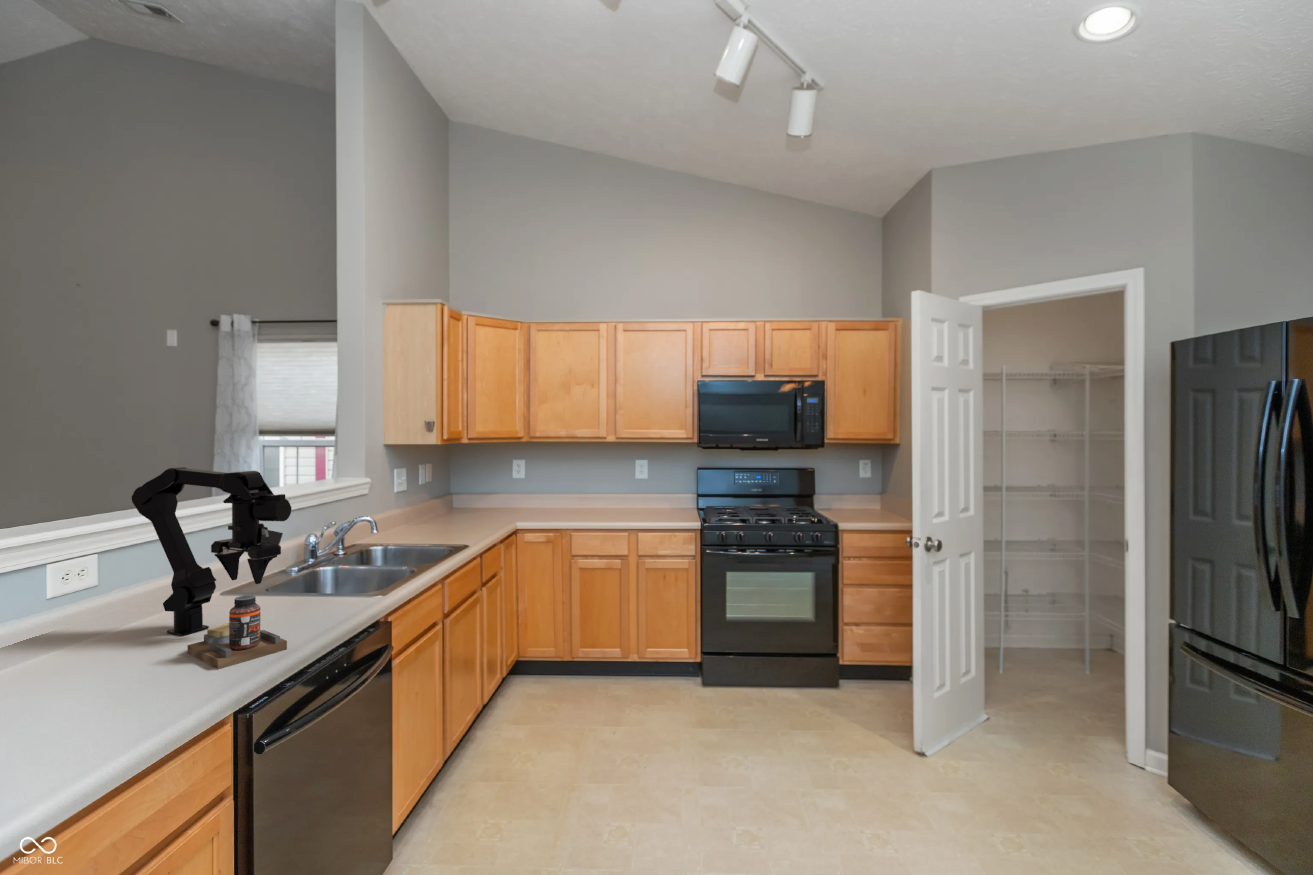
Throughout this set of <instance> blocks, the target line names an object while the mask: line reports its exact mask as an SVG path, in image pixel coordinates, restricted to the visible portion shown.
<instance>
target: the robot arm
mask: <svg viewBox="0 0 1313 875" xmlns="http://www.w3.org/2000/svg"><path fill="white" fill-rule="evenodd" d="M185 485H186V486H187V485H188V486H189V485H190V486H196V487H198V486H199V487H206V488H215V489H218V490H220V491H222V492H224V493H226V494H229V496H227V497H226V498H225V499H224V500H223V501H222V502H223V504H231V525H227V530H228V531H231V538H227V539H220V540H214V542H213V543H212V544H211V545H210V552H211V553H212V554H214V557H216V558H217V559H218V562H220V564H221V565H222V567H223V569H224V570H225V571H226V573H227V575H228V576H229V578H230V579H231V581H237V579H238V575H239V567H240V558H241V557H242V556H243V554H244V553H247V556H248V557H249V558H247V563H248V565H249V569H250V574H251V576H252V578H253V582H254V583H255V585H259V584H261V583H262V580H263V579H264V575H265V573H266V570H267V567H268V566H269V564H270V562H271V561H272V560H273V559H275V558H277V557H278V555H281V554H282V546H281V540H282V537H283V534H284V533H283V532H280V531H275V530H270V529H269V528H268V527H267V526H265V524H264V523H260V521H261V522H285V521H287V520H289V518H290V516H291V513H292V505H291V503H290V501H289V500H288V499H287V498H286V494H285V493H282V494H274V492H273V491H272V489H271V488H270V487H269V485H268V484H267V483H266V481H265V480H264V477H263V476H262V474H261V472H259V471H257V470H247V471H246V470H244V471H234V472H233V471H232V472H223V471H215V470H214V471H212V470H205V469H196V468H188V467H184V466H183V467H182V466H181V467H169V468H167V469H165V470H164V471H163V472H162V473H160V475H156V477H154V478H152V479H150V480H148V481H147V482H145V483H143V484H142V485H141V486H139V487H137V488H136V489H135V490H134V491H133V493H132V495H131V501H132V504H133V506H134V507H135V509H136V511H137V512H138V513H139V514H140V515H142V516H143V517H145V518H146V519H147V520H148V521H150V523H151V524H152V526H153V528H154V531H155V533H156V535H157V537H158V539H159V542H160V544H161V547H162V549H163V551H164V553H165V555H166V559H167V561H168V562H169V565H170V567H171V569H172V572H173V575H172V580H171V583H170V584H171V591H172V593H171V594H170V595H169V596H168V597H167V599H165V601H163V603H162V606H163V609H164V611H165V612H173V628H172V629H166V633H168V634H172V635H176V636H186V635H189V634H192V633H196V632H200V631H204V630H207V629H210V626H209V625H206V624H203V623H204V621H203V620H204V619H203V618H204V616H203V604H207V603H210V602H211V599H212V598H213V597H212V596H213V594H214V593H215V590H216V588H217V586H216V582H217V578H215V576H214V574H213V571H212V569H211V567H209V566H206V567H202V566H200V565H199V564H198V563H197V561H196V559H195V556H194V553H193V552H192V549H191V546H190V545H189V543H188V542H189V541H188V540H187V538H186V536H185V533H184V531H183V529H182V527H181V523H180V522H179V520H178V517H177V515H176V511H177V508H178V507H177V506H178V504H179V502H178V498H177V496H178V495H179V494H181V493H182V492H183V491H184V488H185Z"/></svg>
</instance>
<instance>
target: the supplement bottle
mask: <svg viewBox="0 0 1313 875" xmlns="http://www.w3.org/2000/svg"><path fill="white" fill-rule="evenodd" d="M233 605H234V606H232V608H230V610H229V612H228V614H229V615H228V616H229V618H228V619H229V621H228V623H229V647H230V649H233V650H243V649H249V648H252V647H255V646H257V645H258V644H259V643H260V630H261V606H260V605H259V604H257V600H256V595H254V594H249V595H241V596H240V595H239V596H236V597H235V598H234V602H233Z"/></svg>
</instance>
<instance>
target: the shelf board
mask: <svg viewBox="0 0 1313 875" xmlns="http://www.w3.org/2000/svg"><path fill="white" fill-rule="evenodd" d="M206 630H207V632H206V633H205V634H203V641H198V642H195V643H191V644H187V645H186V646H187V654H188V655H189V656H191V657H194V658H195V659H197V660H199V661H201V662H203V663H205V664H207V665H209V666H211V667H212V668H215V669H217V670H220V669H224V668H227V667H231V666H235V665H238V664H241V663H245V662H247V661H251V660H255V659H258V658H262V657H265V656H267V655H268V656H269V655H272V654H275V653H278V652H282V651H285V650H288V641H287V640H286V639H284V638H281V636H280V635H279V634H275V633H273V632H270V631H268V630H265V629H260V643H259V644H258V645H257V646H255V647H252V648H249V649H243V650H233V649H230V647H229V622H228V623H225V624H221V625H218V626H214V627H209V628H207V629H206Z"/></svg>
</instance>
